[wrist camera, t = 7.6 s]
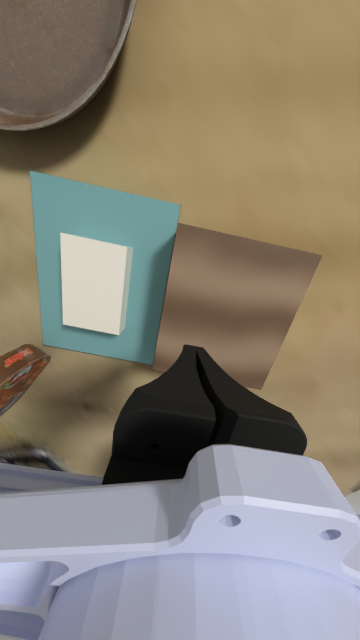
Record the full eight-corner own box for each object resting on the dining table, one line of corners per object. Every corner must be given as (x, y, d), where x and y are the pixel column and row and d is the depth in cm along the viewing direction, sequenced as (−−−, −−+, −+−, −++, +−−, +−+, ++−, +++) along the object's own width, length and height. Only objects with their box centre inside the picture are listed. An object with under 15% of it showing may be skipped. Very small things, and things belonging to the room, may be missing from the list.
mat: (152, 363, 23) (152, 364, 23) (45, 343, 22) (43, 344, 22) (180, 206, 17) (180, 205, 17) (33, 172, 16) (29, 170, 16)
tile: (62, 324, 19) (73, 318, 21) (118, 335, 19) (124, 327, 21) (60, 232, 16) (73, 234, 18) (127, 247, 16) (133, 247, 18)
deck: (248, 367, 23) (261, 389, 19) (157, 350, 22) (152, 369, 19) (293, 255, 18) (322, 255, 14) (179, 229, 18) (178, 222, 14)
